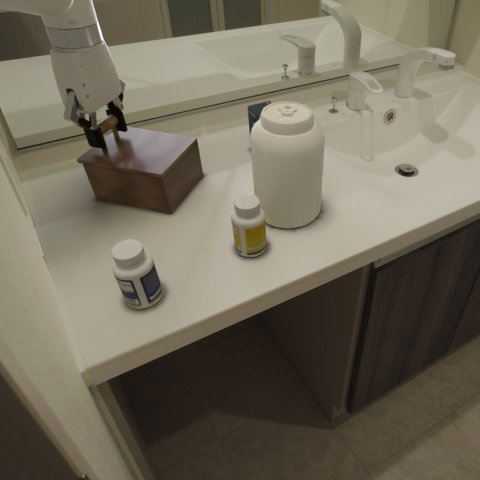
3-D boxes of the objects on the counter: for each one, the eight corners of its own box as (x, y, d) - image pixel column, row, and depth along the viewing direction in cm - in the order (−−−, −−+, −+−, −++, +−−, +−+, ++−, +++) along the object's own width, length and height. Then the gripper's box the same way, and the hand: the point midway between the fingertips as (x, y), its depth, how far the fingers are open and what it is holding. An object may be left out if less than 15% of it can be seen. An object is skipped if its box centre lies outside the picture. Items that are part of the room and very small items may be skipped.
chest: (96, 199, 79) (82, 164, 74) (136, 163, 89) (126, 129, 84) (171, 214, 77) (162, 179, 72) (203, 175, 87) (197, 141, 82)
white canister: (258, 189, 84) (252, 92, 71) (320, 190, 85) (325, 95, 71) (251, 229, 75) (242, 127, 61) (321, 231, 75) (327, 130, 62)
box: (250, 149, 95) (246, 105, 88) (272, 143, 98) (270, 100, 91) (265, 165, 91) (263, 120, 84) (288, 159, 93) (288, 114, 86)
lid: (77, 163, 74) (66, 135, 70) (122, 128, 84) (114, 103, 80) (162, 178, 72) (155, 151, 68) (197, 141, 82) (193, 115, 78)
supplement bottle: (272, 241, 73) (269, 195, 66) (258, 261, 69) (255, 215, 62) (244, 233, 74) (239, 188, 67) (229, 253, 70) (222, 207, 64)
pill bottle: (159, 278, 65) (144, 231, 59) (166, 302, 62) (151, 256, 55) (123, 288, 63) (103, 241, 57) (128, 314, 60) (107, 267, 53)
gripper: (89, 18, 72) (118, 115, 84) (12, 49, 60) (60, 158, 72) (128, 23, 71) (152, 121, 83) (58, 55, 59) (98, 165, 71)
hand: (109, 137), depth 77 cm, fingers open, 5 cm apart
